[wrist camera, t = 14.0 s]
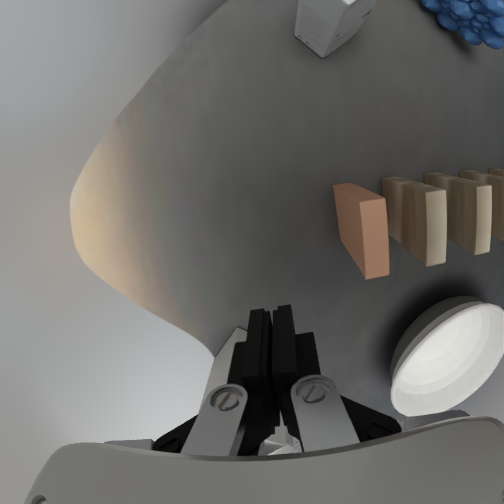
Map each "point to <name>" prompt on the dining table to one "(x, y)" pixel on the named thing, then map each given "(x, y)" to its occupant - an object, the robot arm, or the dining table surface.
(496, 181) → the birch domino
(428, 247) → the birch domino
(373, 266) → the terracotta domino
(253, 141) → the dining table surface
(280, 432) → the milk carton
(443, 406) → the bowl
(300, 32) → the skincare box
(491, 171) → the birch domino
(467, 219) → the birch domino
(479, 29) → the grapes
